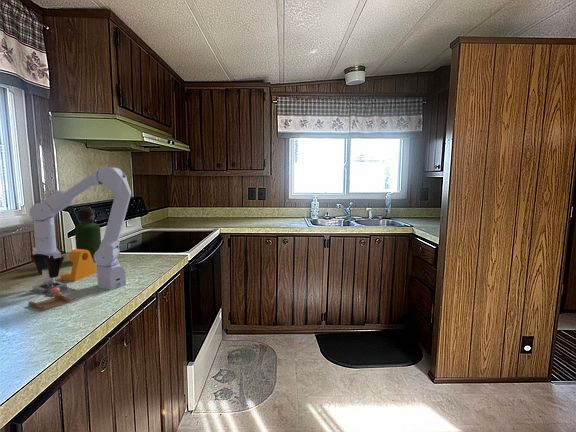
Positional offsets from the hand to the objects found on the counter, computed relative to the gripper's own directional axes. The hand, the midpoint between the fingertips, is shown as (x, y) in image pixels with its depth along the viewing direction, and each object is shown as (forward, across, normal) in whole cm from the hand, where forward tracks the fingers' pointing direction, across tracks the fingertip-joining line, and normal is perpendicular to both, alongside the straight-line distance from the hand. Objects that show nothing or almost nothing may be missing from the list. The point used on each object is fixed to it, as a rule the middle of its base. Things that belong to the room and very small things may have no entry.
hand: (48, 275), depth 114 cm
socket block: (+6, +3, 0) cm, 6 cm away
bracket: (+6, -6, +13) cm, 16 cm away
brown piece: (+6, +15, -7) cm, 18 cm away
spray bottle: (+6, -30, +31) cm, 44 cm away
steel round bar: (+5, 0, 0) cm, 5 cm away
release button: (+6, +7, -1) cm, 9 cm away
